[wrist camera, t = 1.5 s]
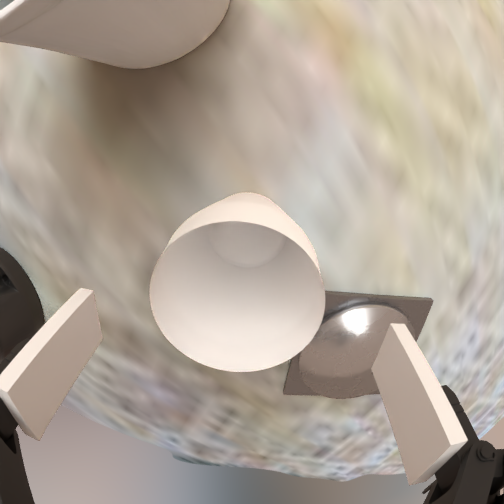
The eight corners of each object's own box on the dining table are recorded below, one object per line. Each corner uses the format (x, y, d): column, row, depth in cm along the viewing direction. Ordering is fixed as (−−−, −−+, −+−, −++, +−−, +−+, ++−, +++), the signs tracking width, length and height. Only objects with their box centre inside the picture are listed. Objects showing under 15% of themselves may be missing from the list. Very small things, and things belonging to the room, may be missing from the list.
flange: (283, 390, 33) (283, 400, 31) (307, 289, 27) (309, 298, 26) (388, 389, 33) (392, 398, 31) (431, 297, 27) (437, 305, 26)
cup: (322, 222, 25) (366, 293, 14) (256, 296, 28) (252, 394, 17) (236, 155, 23) (212, 173, 12) (175, 239, 26) (119, 314, 15)
